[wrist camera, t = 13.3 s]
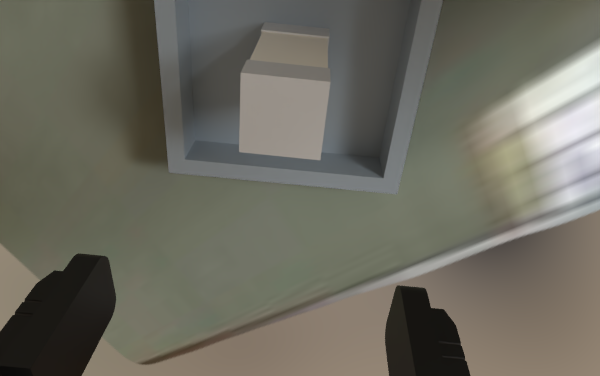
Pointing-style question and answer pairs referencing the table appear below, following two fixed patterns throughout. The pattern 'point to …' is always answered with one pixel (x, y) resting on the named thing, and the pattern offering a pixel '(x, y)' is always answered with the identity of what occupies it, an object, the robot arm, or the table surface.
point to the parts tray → (342, 95)
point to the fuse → (285, 92)
